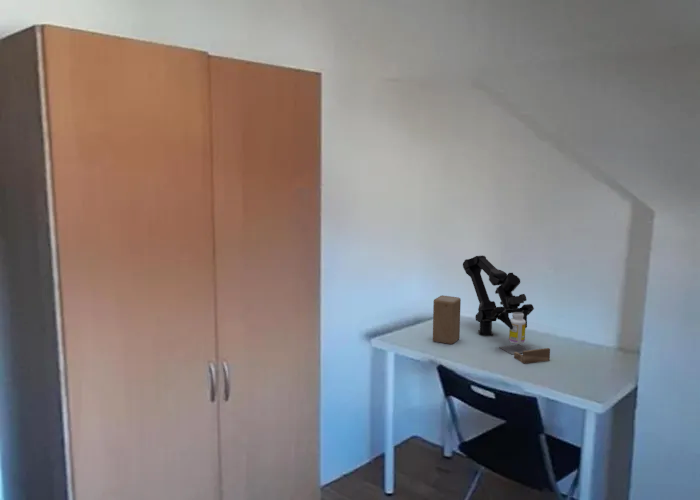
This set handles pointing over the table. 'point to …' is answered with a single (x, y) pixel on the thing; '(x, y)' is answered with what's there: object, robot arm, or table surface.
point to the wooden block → (446, 319)
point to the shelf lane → (533, 355)
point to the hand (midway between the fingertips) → (519, 328)
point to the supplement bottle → (517, 328)
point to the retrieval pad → (514, 349)
